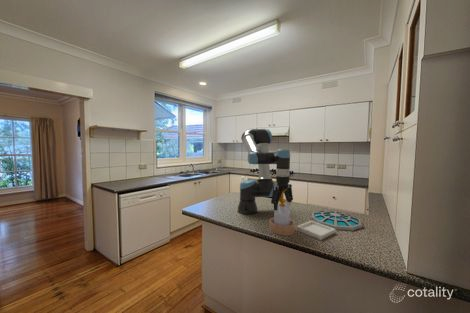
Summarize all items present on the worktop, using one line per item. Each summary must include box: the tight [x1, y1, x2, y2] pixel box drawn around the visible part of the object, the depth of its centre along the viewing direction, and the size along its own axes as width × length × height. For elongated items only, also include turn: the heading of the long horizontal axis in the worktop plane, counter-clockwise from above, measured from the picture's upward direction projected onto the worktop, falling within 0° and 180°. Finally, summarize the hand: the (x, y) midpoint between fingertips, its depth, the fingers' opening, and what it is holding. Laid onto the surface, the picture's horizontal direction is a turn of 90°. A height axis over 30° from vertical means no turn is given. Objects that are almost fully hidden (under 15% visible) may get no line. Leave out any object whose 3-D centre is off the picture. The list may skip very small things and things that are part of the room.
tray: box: [296, 220, 336, 242], centre depth 110 cm, size 15×15×2 cm
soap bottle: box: [273, 189, 291, 226], centre depth 112 cm, size 9×9×25 cm
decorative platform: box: [310, 210, 364, 232], centre depth 127 cm, size 31×29×5 cm
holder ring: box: [268, 217, 296, 236], centre depth 112 cm, size 14×14×5 cm
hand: (282, 213), depth 112 cm, fingers closed on soap bottle, 9 cm apart
